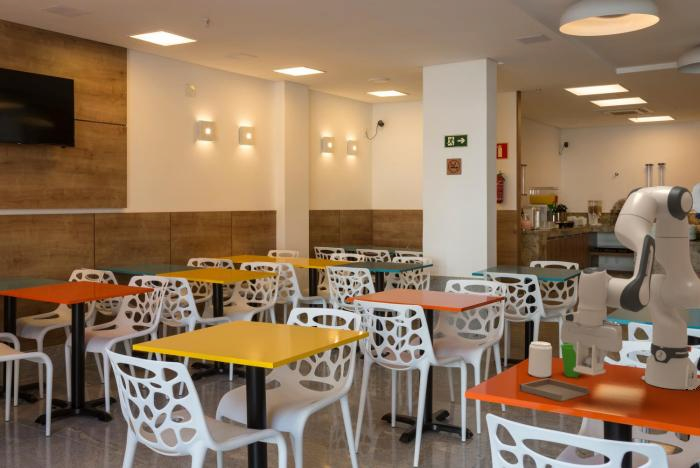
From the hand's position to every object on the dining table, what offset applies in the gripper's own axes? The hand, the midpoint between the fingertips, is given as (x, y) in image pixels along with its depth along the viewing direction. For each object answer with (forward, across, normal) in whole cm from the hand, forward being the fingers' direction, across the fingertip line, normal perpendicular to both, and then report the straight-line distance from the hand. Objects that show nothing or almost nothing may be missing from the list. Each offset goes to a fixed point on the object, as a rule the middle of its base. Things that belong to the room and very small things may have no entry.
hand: (589, 361), depth 218 cm
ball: (0, 0, -1) cm, 1 cm away
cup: (+13, +23, -26) cm, 37 cm away
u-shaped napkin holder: (+3, 0, 0) cm, 3 cm away
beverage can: (+13, +30, -16) cm, 37 cm away
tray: (+13, +13, 0) cm, 18 cm away
